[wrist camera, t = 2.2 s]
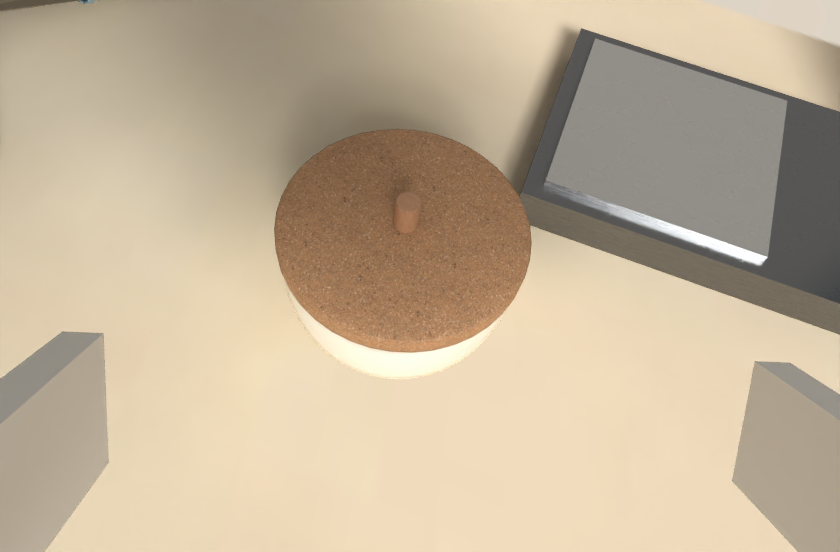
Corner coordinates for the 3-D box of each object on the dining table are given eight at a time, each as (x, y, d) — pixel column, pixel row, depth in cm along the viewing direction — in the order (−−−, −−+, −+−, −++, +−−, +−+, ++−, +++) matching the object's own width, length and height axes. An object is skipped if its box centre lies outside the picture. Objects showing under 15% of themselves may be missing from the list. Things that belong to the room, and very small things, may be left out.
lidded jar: (363, 192, 40) (370, 65, 32) (532, 287, 38) (585, 177, 30) (241, 336, 35) (212, 228, 27) (428, 455, 33) (457, 377, 25)
